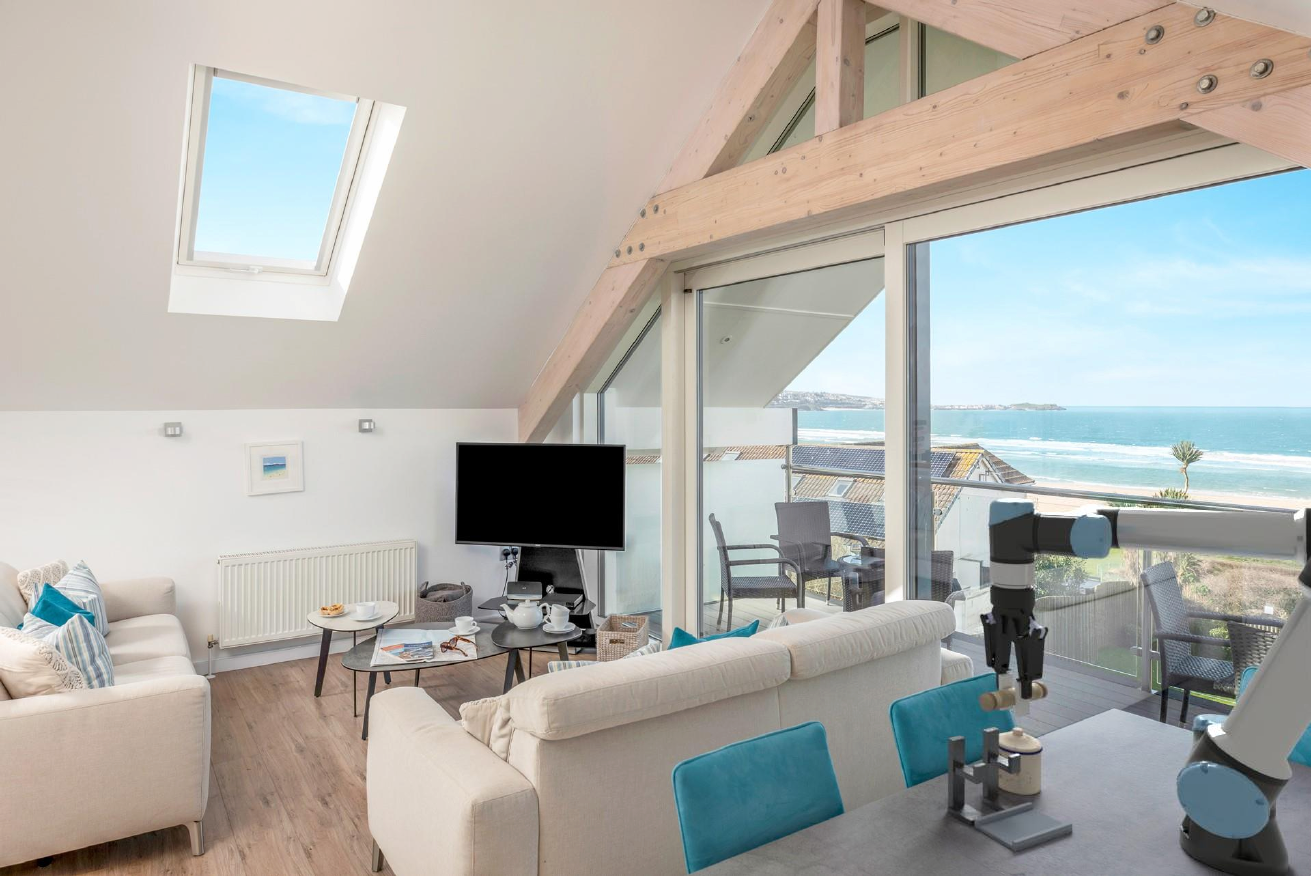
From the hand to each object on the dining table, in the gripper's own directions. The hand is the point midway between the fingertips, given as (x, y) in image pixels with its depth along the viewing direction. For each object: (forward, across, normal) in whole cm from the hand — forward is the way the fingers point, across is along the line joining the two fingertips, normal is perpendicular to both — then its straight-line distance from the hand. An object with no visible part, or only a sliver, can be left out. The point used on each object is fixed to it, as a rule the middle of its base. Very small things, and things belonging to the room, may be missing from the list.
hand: (1014, 711), depth 148 cm
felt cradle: (+21, -2, 0) cm, 21 cm away
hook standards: (+21, +6, +1) cm, 22 cm away
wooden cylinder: (-1, 0, 0) cm, 2 cm away
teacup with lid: (+21, +11, -12) cm, 27 cm away
